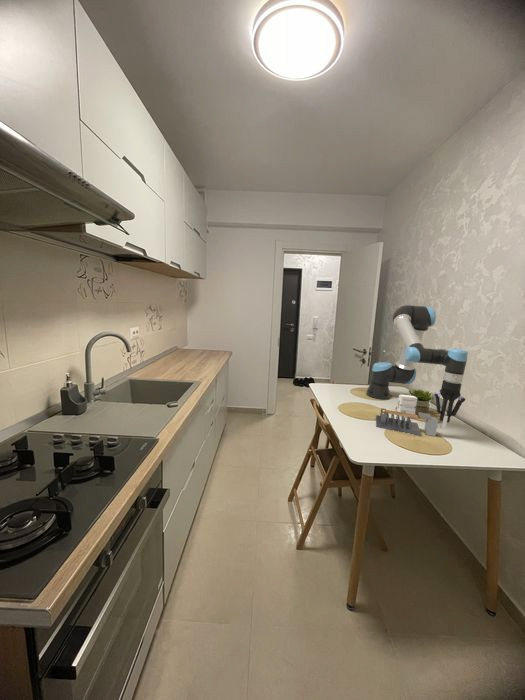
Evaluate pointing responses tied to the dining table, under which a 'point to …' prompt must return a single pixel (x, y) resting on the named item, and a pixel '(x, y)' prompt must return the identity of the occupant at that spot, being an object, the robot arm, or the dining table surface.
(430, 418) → the block
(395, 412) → the strap
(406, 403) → the ink box
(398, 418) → the heatsink
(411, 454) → the dining table surface
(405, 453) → the dining table surface
